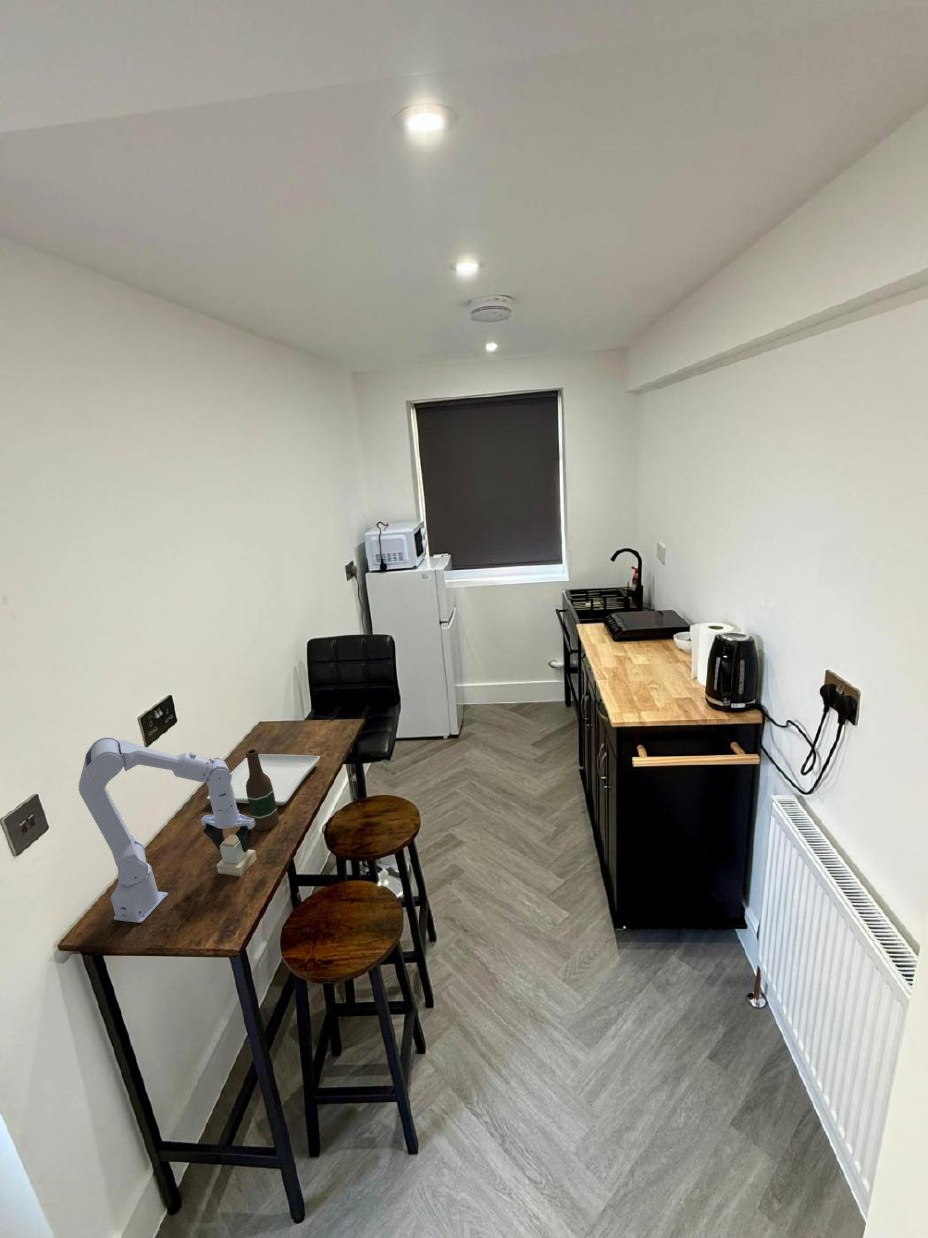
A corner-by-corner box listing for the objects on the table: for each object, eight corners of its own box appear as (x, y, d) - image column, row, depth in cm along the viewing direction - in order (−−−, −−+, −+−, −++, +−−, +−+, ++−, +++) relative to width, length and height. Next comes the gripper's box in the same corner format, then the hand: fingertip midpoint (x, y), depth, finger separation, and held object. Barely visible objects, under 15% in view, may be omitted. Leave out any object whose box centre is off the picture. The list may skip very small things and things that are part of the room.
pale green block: (238, 863, 154) (234, 845, 152) (223, 862, 155) (219, 844, 153) (247, 852, 158) (244, 835, 156) (233, 851, 159) (229, 833, 157)
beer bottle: (282, 814, 178) (269, 743, 171) (276, 830, 170) (261, 757, 163) (257, 816, 178) (242, 745, 171) (249, 832, 170) (233, 759, 163)
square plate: (207, 808, 185) (204, 797, 184) (251, 762, 210) (249, 752, 209) (286, 811, 180) (284, 800, 179) (322, 764, 205) (320, 754, 204)
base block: (241, 877, 153) (239, 868, 152) (218, 874, 155) (216, 865, 154) (257, 859, 159) (255, 850, 158) (235, 856, 161) (233, 847, 160)
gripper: (257, 797, 154) (266, 840, 157) (208, 793, 157) (218, 836, 161) (242, 813, 147) (252, 858, 151) (191, 809, 150) (202, 854, 154)
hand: (234, 848), depth 155 cm, fingers open, 7 cm apart
